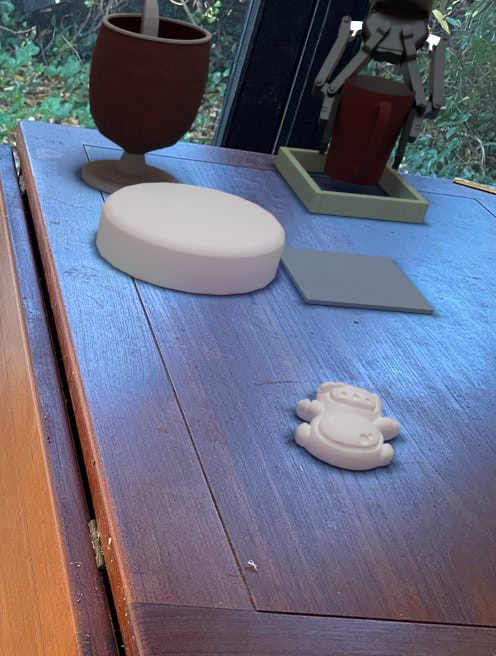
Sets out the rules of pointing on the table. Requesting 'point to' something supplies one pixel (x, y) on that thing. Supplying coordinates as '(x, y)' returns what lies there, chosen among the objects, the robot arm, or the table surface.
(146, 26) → the mate gourd
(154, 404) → the table surface
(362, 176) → the mug
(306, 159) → the green rectangular frame
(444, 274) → the table surface
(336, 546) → the table surface
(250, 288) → the container
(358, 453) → the astronaut figurine
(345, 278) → the mat
